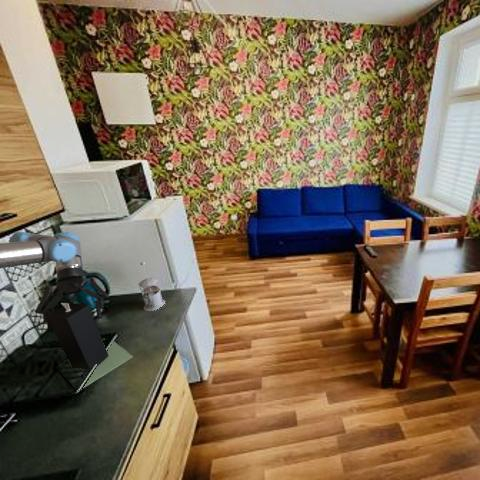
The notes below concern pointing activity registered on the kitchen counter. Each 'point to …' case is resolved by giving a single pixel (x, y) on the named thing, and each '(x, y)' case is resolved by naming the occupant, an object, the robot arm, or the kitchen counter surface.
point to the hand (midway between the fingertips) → (76, 324)
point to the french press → (151, 293)
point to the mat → (110, 362)
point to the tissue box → (78, 335)
